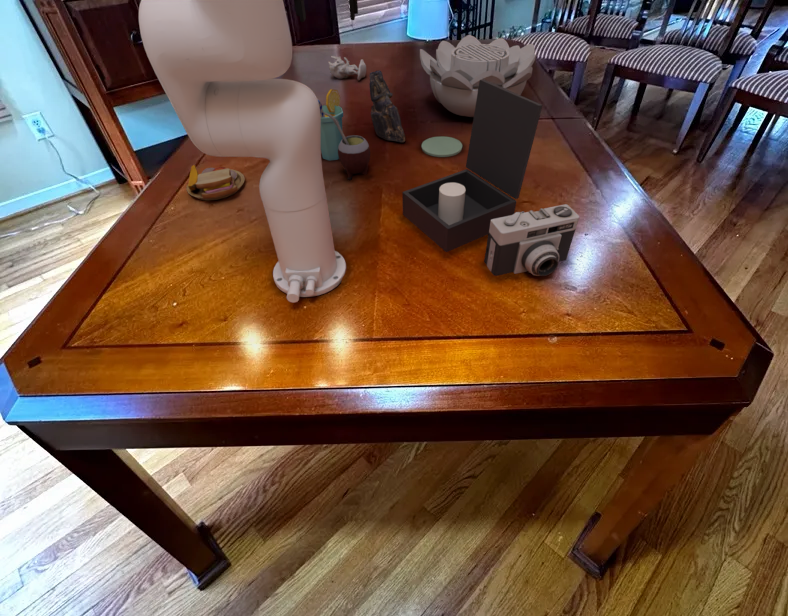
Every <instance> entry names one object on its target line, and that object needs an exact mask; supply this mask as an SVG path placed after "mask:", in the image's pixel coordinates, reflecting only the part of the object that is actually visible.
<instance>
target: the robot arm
mask: <svg viewBox="0 0 788 616" xmlns="http://www.w3.org/2000/svg"><path fill="white" fill-rule="evenodd" d="M293 2H294V10H295V15H296V17H299V22H300V23H304V22H305V21H306V19H307V15H306V8H305V7H306V6H305V0H293ZM348 5H349V18H350V20H351V21H355V19H356V15H359V8H358V7H359V5H358V0H348ZM138 25H139V32H140V38H141V41H142V44H143V45H142V46H143V48H144V51H145V53H146V56H147V58H148V61H149V63H150V65H151V67H152V69H153V71H154V74H155V76H156V77H157V80H158V81H159V83H160V85H161V87H162V89H163V91H164V93H165V95H166V96H167V98H168V100H169V102H170V104H171V106H172V108H173V110H174V112H175V114H176V116H177V118H178V120H179V122H180V123H181V125H182V127H183V129H184V132H185V133H186V134H187V136H188V138H189V140H190V141H191V142H192V144H193V145H194V147H195V148H197V149H198V150H199V151H200V152H201V153H203V154H204V155H207V156H210V157H217V158H256V159H257V158H258V159H265V160H266V159H267V160H268V161H269V162H268V164H267V165H266V167H265V168H264V170H263V172H262V173H261V176H260V178H259V185H258V191H259V196H260V199H261V202H262V205H263V209H264V213H265V216H266V220H267V224H268V228H269V231H270V234H271V239H272V243H273V245H274V246H273V247H274V250H275V253H276V257H277V260H278V261H277V262H276V263H275V265H274V267H273V270H272V276H273V277H272V278H273V281H274V283H275V285H276V287H277V288H278V289H279V290H280V291H281V292H283V293H285V294H286V297H285V298H286V300H287V301H288V302H289V303H298V301H300V298H312V297H316V296H320V295H323V294H327V293H329V292H331V291H332V290H334V289H335V288H337V287H338V286H339V285H340V284H341V283H342V280H343V278H344V276H345V275H346V272H347V263H346V260H345V258H344V256H343V255H342V254H341V253H340V252H339V251H337V250H335V243H334V238H333V237H334V236H333V231H332V225H331V218H330V211H329V206H328V199H327V193H326V186H325V179H324V172H323V162H322V153H321V116H320V107H319V103H318V100H319V99H318V97H317V96H316V93H315V92H314V91H313V89H311V88H310V87H309V86H307V85H306V84H304V83H302V82H299V81H297V80H292V79H287V78H280V77H281V76H283V75H284V74H285V73H287V72H288V70H289V68H290V67H291V64H292V60H293V42H292V36H291V31H290V25H289V20H288V16H287V12H286V8H285V3H284V0H140V2H139V7H138ZM317 99H318V100H317Z"/></svg>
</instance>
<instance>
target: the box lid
mask: <svg viewBox="0 0 788 616" xmlns="http://www.w3.org/2000/svg"><path fill="white" fill-rule="evenodd" d="M542 110H543V104H541V103H539V102H536V101H534V100H532V99H530V98H527V97H525V96H523V95H522V94H521V95H518V94H516V93H514V92H511V91H509V90H507V89H505V88H502V87H500V86H498V85H495V84H493V83H491V82H488V81H486V80H484V79H481V80H480V81H479V88H478V94H477V100H476V106H475V112H474V117H473V119H472V125H471V132H470V138H469V144H468V150H467V157H466V163H465V168H466V169H468V170H469V171H471V172H472V173H474V174H475V175H477V176H479V177H480V178H482V179H483V180H485V181H486V182H488V183H489V184H491V185H493V186H494V187H496V188H497V189H499V190H500V191H502V192H503V193H505V194H506V195H508V196H510V197H511V198H513V199H514V200H517V199H519V198H520V195H521V190H522V187H523V183H524V179H525V175H526V171H527V167H528V164H529V159H530V157H531V151H532V148H533V144H534V140H535V136H536V132H537V128H538V124H539V122H540V121H539V120H540V117H541V113H542Z"/></svg>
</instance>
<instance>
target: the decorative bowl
mask: <svg viewBox="0 0 788 616" xmlns="http://www.w3.org/2000/svg"><path fill="white" fill-rule="evenodd" d="M535 50H536V49H535V45H534V43H529V44H526V45H524V46H522V47H520V45H517V44H516V45H513V46H511V47H510V45H509V44H508V42H507V41H506V39H504V38H503V37H499V38H496V39H494V40H493V41H491V42H489V43H488V44H487V43H481V41H479V40H478V39H477V37H475V36H473V35H471V34H467V35H466V36H464V37H463V38H462V39H460V41H459V42H458V43H457V45H456V46H454V45H453V44H452V43H450V42H449V41H447V40H442V41H440V43H439V44H438V47H437V48H436V49H435V57H436V59H435V58H434V57H433V56H432V55H430V54H429V53H428V52H427V51H426V50H424V49H422V48H420V49H419V60H420V65H421V68H423V70H424V72H425V73H426V74H427V75H428V76H429V84H430V88H431V90H432V93H433V96H434V98H435V100H436V101H437V102H438V103H439V104H441V105H442V106H443V108H445V109H446V110H447V111H449V112H450V113H452V114H453V115H457V116H461V117H467V118H468V117H469V118H474V112H475V106H476V100H477V94H478V88H479V81H480V80H481V79H484V80H486V81H488V82H491V83H493V84H495V85H498V86H500V87H502V88H505V89H507V90H509V91H511V92H514V93H516V94H518V95H521V96H522V93H523V91H524V90H525V87H526V85H527V81H528V80H529V79H530V78H532V76H533V75H532V74H533V64H534V63H535V61H536V56H537V54H535V52H536V51H535Z"/></svg>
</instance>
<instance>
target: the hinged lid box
mask: <svg viewBox="0 0 788 616" xmlns="http://www.w3.org/2000/svg"><path fill="white" fill-rule="evenodd" d="M446 183H459V184H461V185H463V186H464V187H465V189H466V192H465V203H464V213H463V220H461V221H458V222H456V223H454V224H451V225H448V224H447V223H445V222H444V221H443V220H442V219H440V218H439V217H438V206H439V188H440V186H441V185H443V184H446ZM401 195H402V196H401V197H402V215H403V216H404V217H405V218H406V219H407V220H408V221H410V223H412V224H413V225H414V226H415V227H416V228H418V229H419V230H420V231H421V232H423V234H424V235H426V236H427V237H428V238H429V239H430V240H432V242H434V243H435V244H436V245H437V246H439V248H440V249H442V250H443V251H444V252H445V253H448V252H451V251H453V250H455V249H458V248H460V247H463V246H465V245H467V244H469V243H472V242H474V241H477V240H478V239H481V238H483V237H485V236H488V233H489V229H490V222H491V220H492V219H495V218H500V217H505V216H510V215H513V214H515V213H516V206H517V199H514V198H513V197H511V196H510V195H508V194H507V193H505V192H504V191H502V190H501V189H499V188H497V187H496V186H494V185H493V184H491V183H490V182H488V181H487V180H485V179H483V178H482V177H480V176H479V175H477V174H476V173H474V172H473V171H471V170H469V169H468V168H466V169H463V170H460V171H457V172H454V173H452V174H449V175H445V176H443V177H440V178H438V179H437V178H436V179H435V180H432V181H429V182H426V183H424V184H421V185H418V186H416V187H412V188H409V189H407V190H404V191H402V192H401Z"/></svg>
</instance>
